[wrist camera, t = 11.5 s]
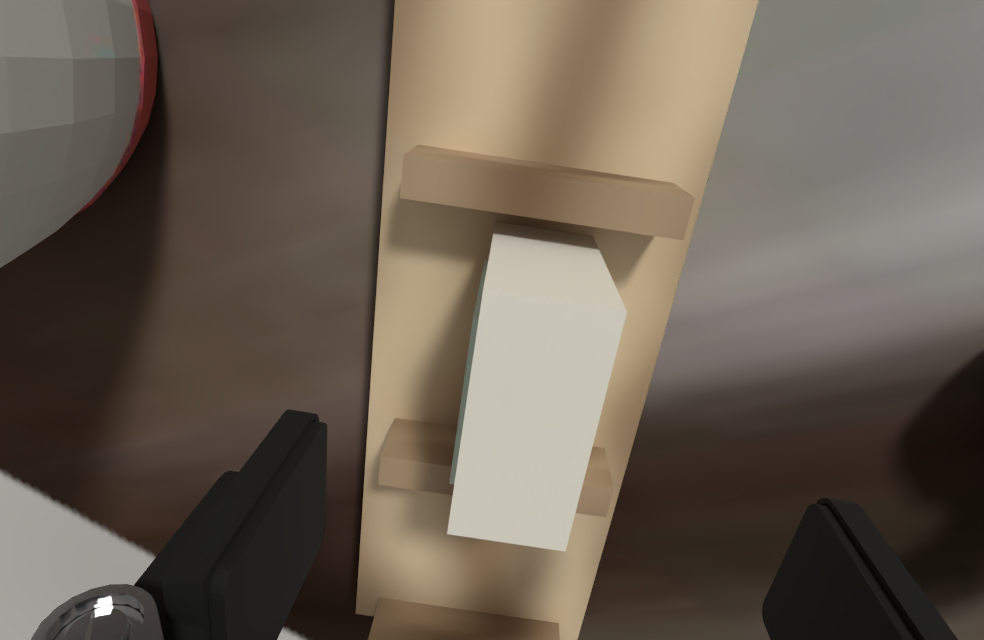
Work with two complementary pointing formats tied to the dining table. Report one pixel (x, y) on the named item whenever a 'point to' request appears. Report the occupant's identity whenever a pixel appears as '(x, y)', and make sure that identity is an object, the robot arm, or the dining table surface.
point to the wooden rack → (466, 245)
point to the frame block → (533, 386)
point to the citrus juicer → (68, 108)
